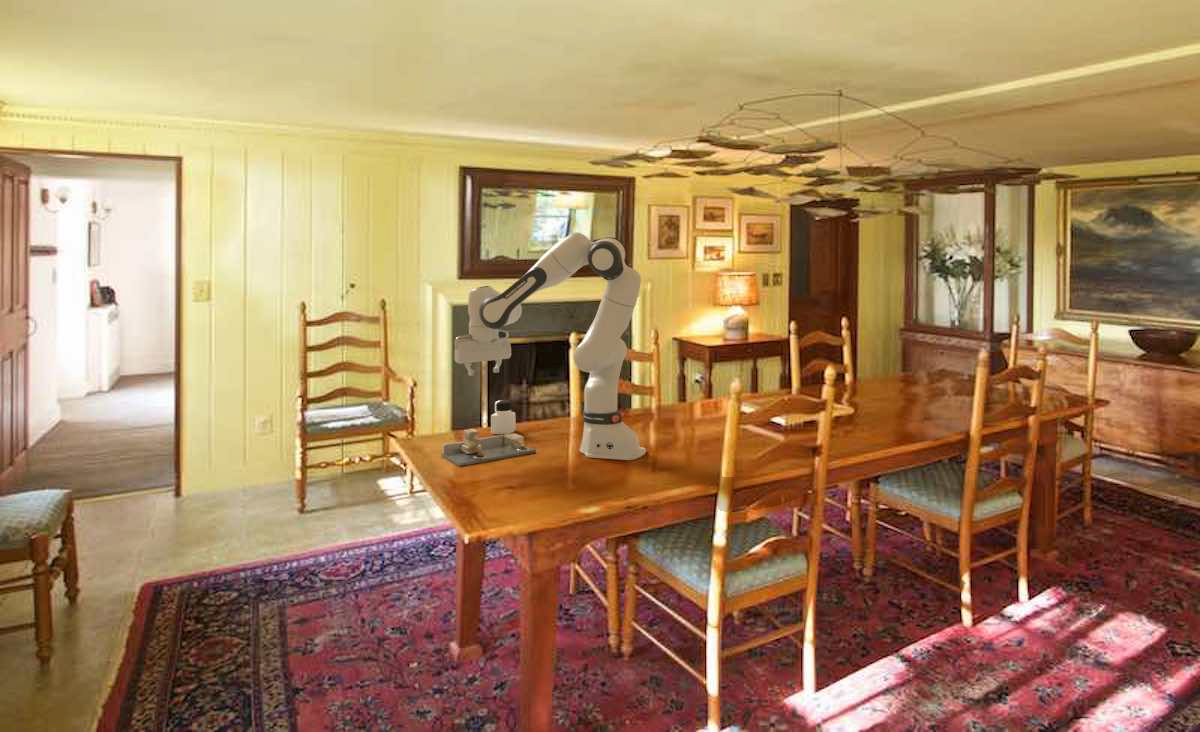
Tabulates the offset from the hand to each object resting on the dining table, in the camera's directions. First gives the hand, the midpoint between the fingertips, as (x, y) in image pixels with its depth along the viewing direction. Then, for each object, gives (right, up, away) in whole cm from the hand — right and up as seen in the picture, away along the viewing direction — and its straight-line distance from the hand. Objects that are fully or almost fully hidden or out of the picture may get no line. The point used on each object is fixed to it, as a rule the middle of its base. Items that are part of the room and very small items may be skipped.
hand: (483, 374), depth 256 cm
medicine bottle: (+4, -22, +24) cm, 33 cm away
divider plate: (+3, -27, -6) cm, 28 cm away
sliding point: (-2, -26, -8) cm, 27 cm away
